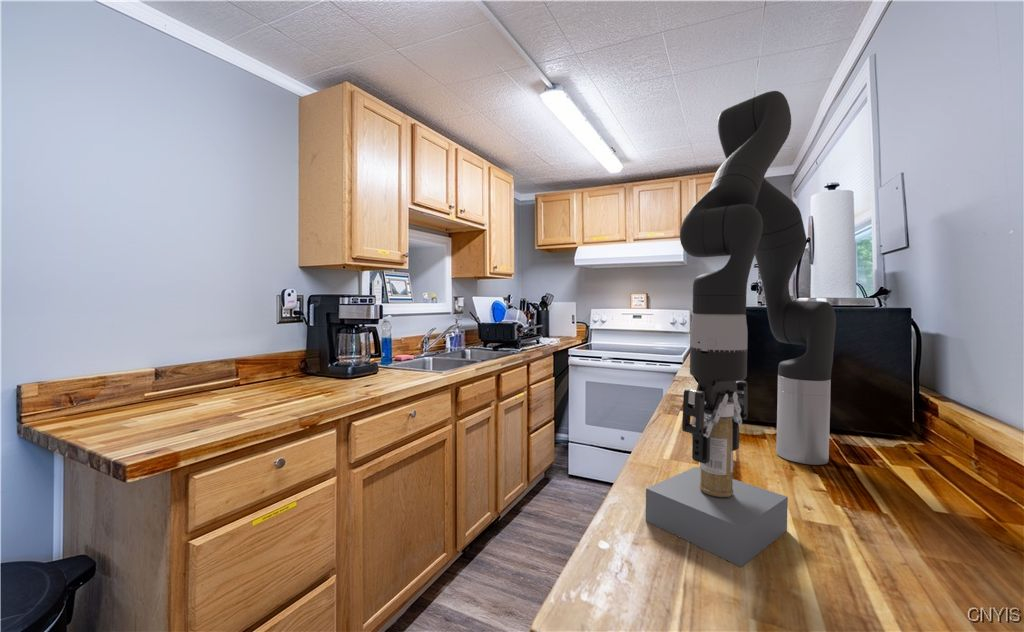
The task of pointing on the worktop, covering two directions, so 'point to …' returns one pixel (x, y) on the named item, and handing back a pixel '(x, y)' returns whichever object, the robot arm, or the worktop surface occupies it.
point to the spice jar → (719, 457)
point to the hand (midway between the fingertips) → (715, 455)
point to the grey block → (718, 516)
